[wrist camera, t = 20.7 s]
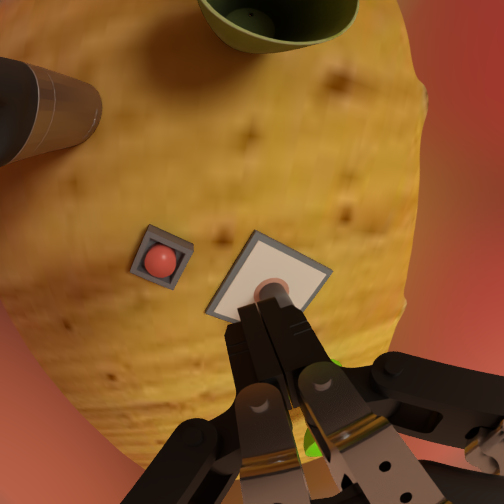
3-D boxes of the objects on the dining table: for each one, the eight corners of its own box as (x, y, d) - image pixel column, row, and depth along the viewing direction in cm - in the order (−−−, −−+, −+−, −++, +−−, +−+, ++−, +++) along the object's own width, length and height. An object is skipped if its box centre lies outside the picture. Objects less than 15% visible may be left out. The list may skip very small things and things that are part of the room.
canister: (253, 299, 45) (272, 345, 35) (268, 278, 44) (291, 321, 34) (275, 308, 46) (296, 352, 37) (289, 288, 45) (315, 330, 36)
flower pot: (169, 48, 27) (155, -2, 13) (225, -25, 23) (248, -88, 8) (267, 95, 32) (320, 77, 18) (315, 21, 28) (378, -17, 14)
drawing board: (205, 310, 45) (205, 314, 44) (254, 229, 41) (256, 232, 40) (281, 335, 51) (282, 339, 50) (331, 269, 47) (333, 272, 46)
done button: (142, 262, 38) (140, 270, 36) (153, 237, 37) (151, 244, 35) (169, 273, 40) (168, 282, 38) (181, 249, 39) (180, 257, 37)
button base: (132, 263, 39) (129, 272, 37) (149, 224, 37) (147, 230, 35) (173, 281, 41) (173, 290, 39) (193, 244, 40) (193, 251, 37)
